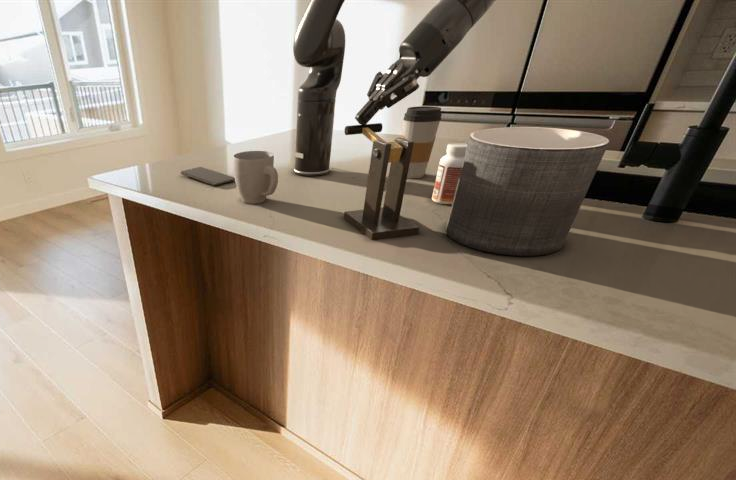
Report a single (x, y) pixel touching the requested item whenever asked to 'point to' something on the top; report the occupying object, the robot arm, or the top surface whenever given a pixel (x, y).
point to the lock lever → (375, 138)
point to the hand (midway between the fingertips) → (359, 121)
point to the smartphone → (207, 176)
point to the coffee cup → (420, 136)
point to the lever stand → (388, 217)
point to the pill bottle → (449, 173)
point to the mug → (255, 175)
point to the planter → (522, 188)
